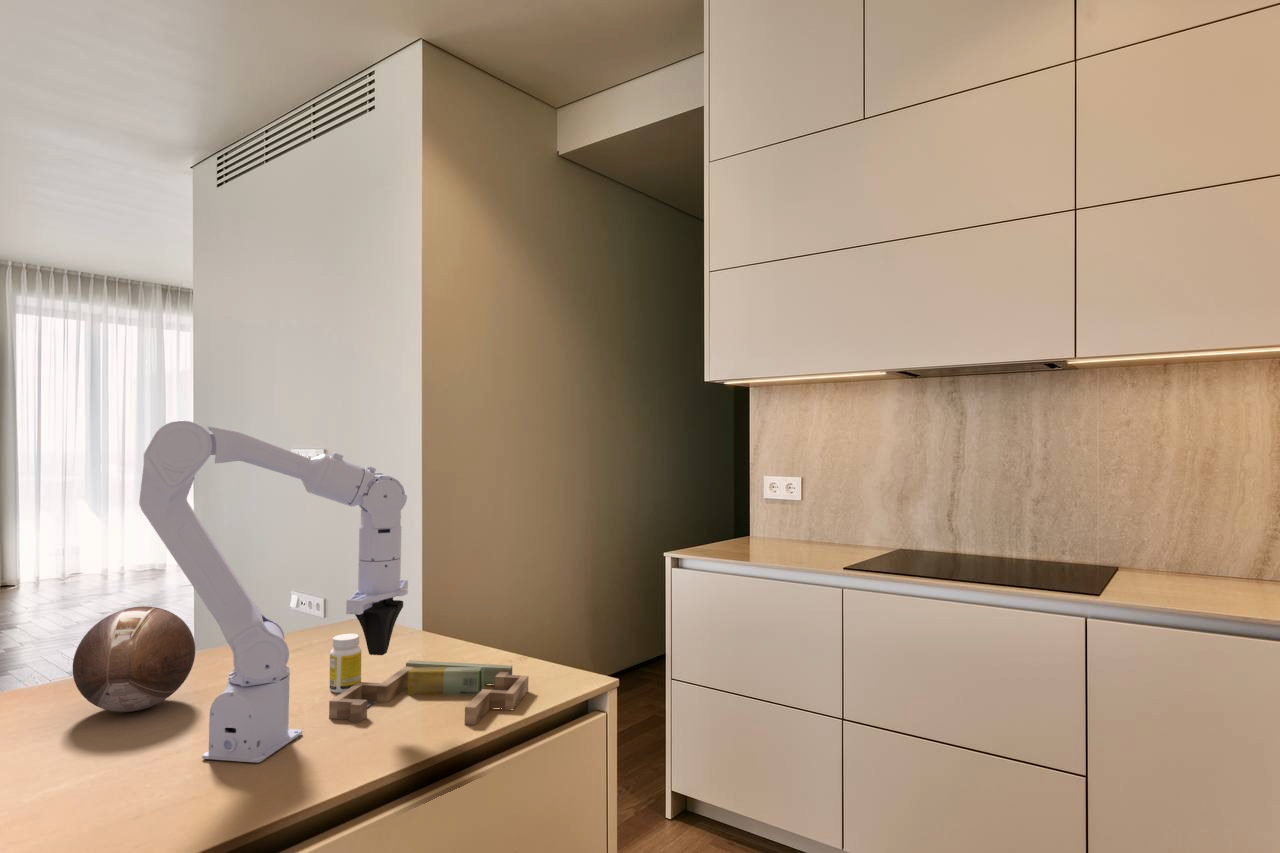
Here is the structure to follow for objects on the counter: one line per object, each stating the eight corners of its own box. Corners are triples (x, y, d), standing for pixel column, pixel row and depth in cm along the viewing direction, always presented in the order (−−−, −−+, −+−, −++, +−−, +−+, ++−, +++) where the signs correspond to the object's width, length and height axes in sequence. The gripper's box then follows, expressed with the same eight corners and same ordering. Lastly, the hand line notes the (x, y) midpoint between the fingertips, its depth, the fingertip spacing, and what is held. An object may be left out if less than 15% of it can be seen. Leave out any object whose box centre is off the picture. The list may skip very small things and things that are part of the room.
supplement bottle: (366, 684, 120) (367, 633, 120) (352, 694, 115) (353, 641, 115) (338, 683, 120) (339, 632, 120) (323, 692, 115) (324, 640, 116)
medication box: (485, 690, 118) (485, 666, 118) (482, 696, 115) (482, 670, 115) (410, 691, 117) (411, 666, 118) (406, 696, 115) (406, 671, 115)
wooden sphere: (65, 737, 97) (68, 625, 98) (76, 703, 110) (79, 603, 110) (196, 714, 106) (198, 611, 106) (192, 685, 118) (194, 593, 119)
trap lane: (496, 730, 101) (496, 709, 101) (325, 720, 104) (326, 699, 104) (533, 684, 120) (533, 666, 121) (388, 676, 124) (389, 659, 124)
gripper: (382, 567, 96) (380, 670, 96) (427, 551, 110) (425, 641, 110) (332, 566, 97) (330, 668, 97) (383, 550, 111) (381, 639, 111)
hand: (378, 653), depth 103 cm, fingers closed
